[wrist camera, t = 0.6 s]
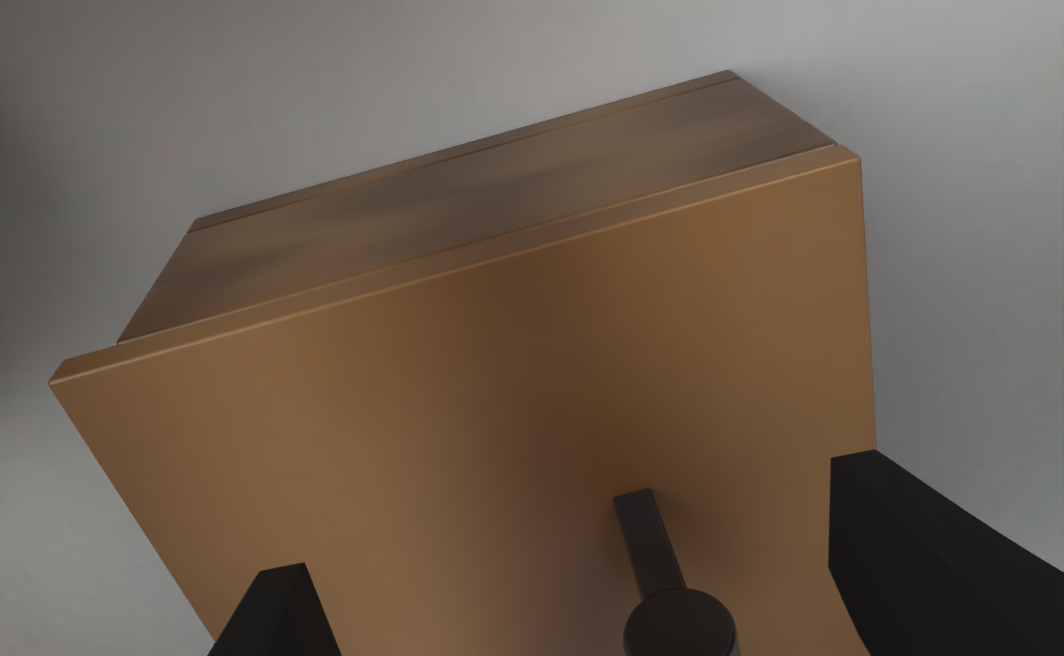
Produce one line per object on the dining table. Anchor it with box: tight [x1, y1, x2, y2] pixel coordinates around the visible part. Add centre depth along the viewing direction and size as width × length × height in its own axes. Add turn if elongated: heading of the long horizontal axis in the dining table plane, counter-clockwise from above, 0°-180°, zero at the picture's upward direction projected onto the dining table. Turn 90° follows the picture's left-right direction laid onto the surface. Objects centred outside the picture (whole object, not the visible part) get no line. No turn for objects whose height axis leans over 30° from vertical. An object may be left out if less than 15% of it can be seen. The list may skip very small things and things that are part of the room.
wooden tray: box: [117, 70, 838, 345], centre depth 19 cm, size 12×15×5 cm
